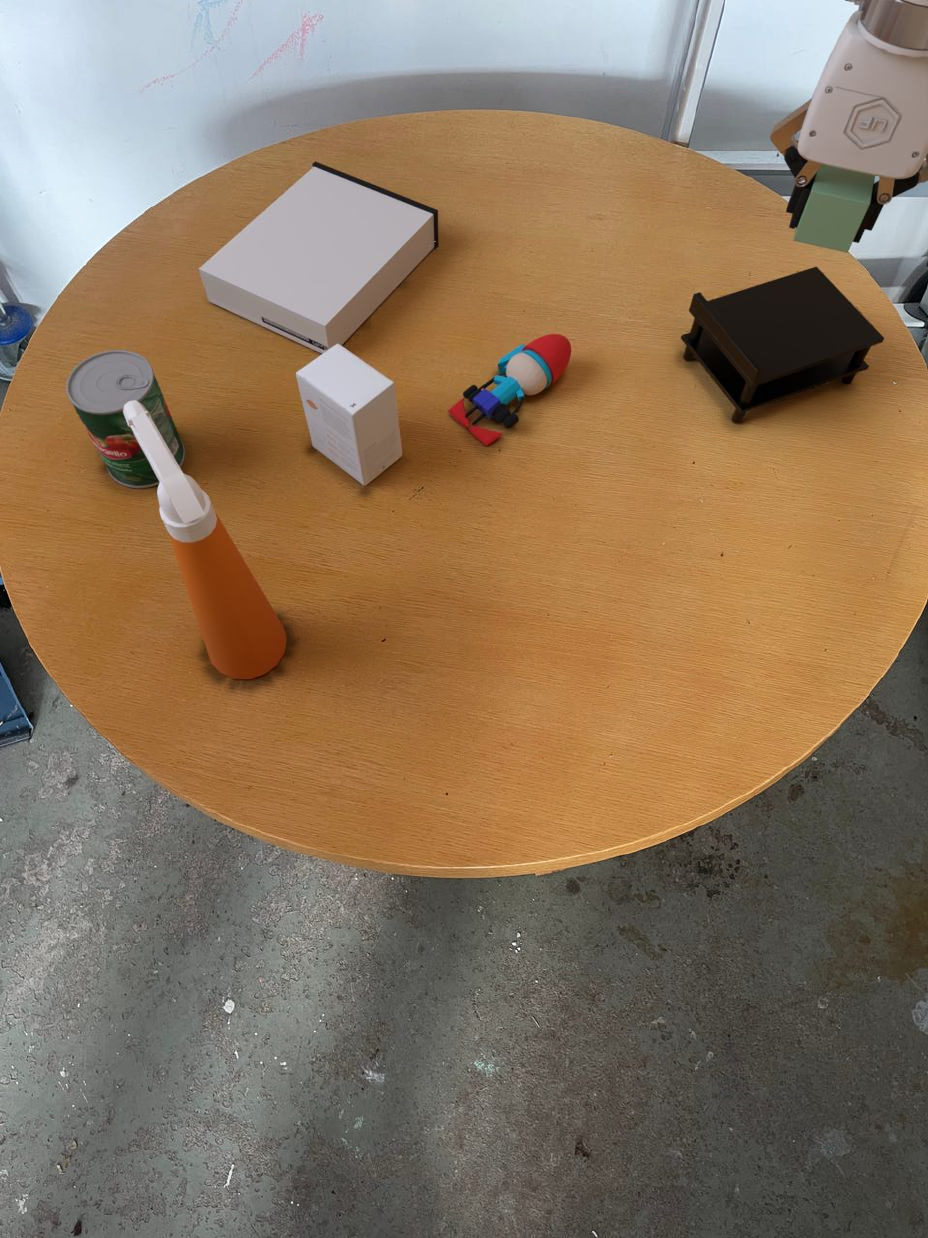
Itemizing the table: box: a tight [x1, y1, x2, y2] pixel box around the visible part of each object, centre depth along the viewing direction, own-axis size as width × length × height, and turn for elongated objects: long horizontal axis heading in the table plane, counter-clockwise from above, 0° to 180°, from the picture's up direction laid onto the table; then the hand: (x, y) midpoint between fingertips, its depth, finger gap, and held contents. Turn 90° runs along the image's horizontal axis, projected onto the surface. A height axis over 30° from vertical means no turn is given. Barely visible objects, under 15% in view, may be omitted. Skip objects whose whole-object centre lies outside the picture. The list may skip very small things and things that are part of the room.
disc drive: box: [198, 161, 440, 355], centre depth 101 cm, size 18×22×5 cm
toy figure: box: [448, 333, 572, 447], centre depth 92 cm, size 8×5×15 cm
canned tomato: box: [65, 349, 186, 489], centre depth 84 cm, size 8×8×11 cm
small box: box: [295, 344, 403, 487], centre depth 85 cm, size 8×6×10 cm
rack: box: [680, 266, 885, 425], centre depth 92 cm, size 16×12×8 cm
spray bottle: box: [123, 400, 288, 680], centre depth 68 cm, size 7×11×26 cm, turn 33°
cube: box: [792, 165, 876, 254], centre depth 78 cm, size 5×5×5 cm
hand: (826, 224), depth 80 cm, fingers closed on cube, 5 cm apart
